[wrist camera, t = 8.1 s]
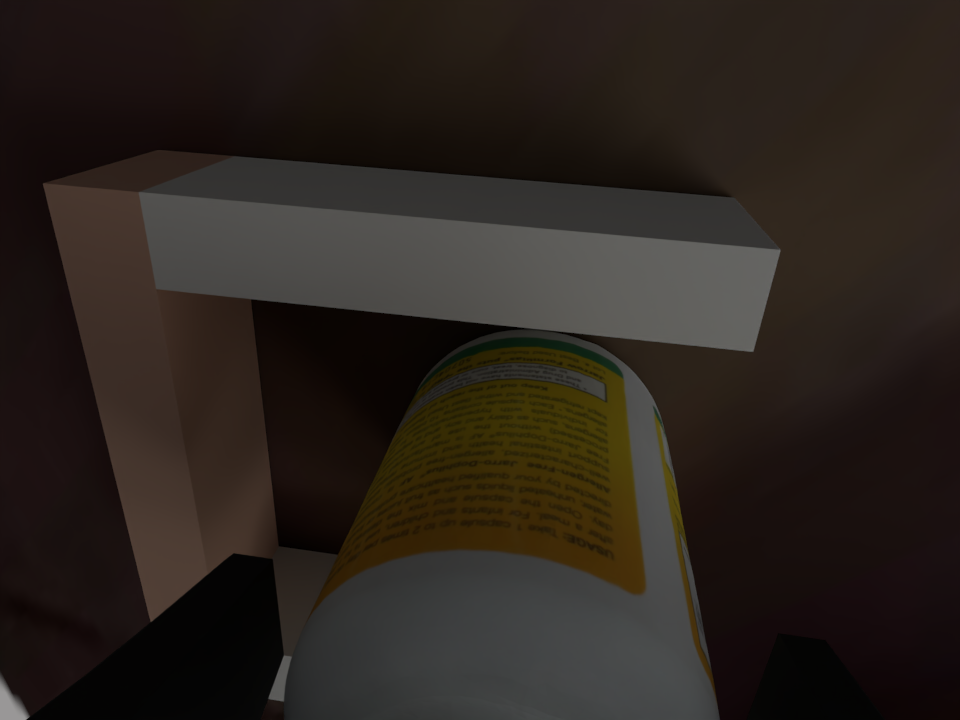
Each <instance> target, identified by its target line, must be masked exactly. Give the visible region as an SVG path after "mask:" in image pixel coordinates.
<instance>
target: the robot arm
mask: <svg viewBox="0 0 960 720" xmlns="http://www.w3.org/2000/svg"><path fill="white" fill-rule="evenodd" d="M283 657H284V650H283V641H282V633H281V624H280V616H279V608H278V599H277V591H276V582H275V574H274V565H273V559H270V558H263V557H256V556H250V555H243V554H236V553H233V554H232V555H231V556H229V557H228V558H227V559H225V560H224V561H223V562H222V563H221V564H219V565H218V566H217V567H216V568H214V569H213V570H212V571H211V572H210V573H208V574H207V575H206V576H205V577H204V578H203V579H201V580H200V581H199V582H198V583H197V584H196V585H194V586H193V587H192V588H191V589H190V590H188V591H187V592H186V593H185V594H184V595H183V596H181V597H180V598H179V599H178V600H177V601H175V602H174V603H173V604H172V605H171V606H170V607H168V608H167V609H166V610H165V611H164V612H162V613H161V614H160V615H159V616H158V617H156V618H155V619H154V620H153V621H152V622H150V623H149V624H148V625H147V626H146V627H144V628H143V629H142V630H141V631H139V632H138V633H137V634H136V635H135V636H133V637H132V638H131V639H130V640H128V641H127V642H126V643H125V644H123V645H122V646H121V647H120V648H118V649H117V650H116V651H115V652H114V653H112V654H111V655H110V656H109V657H107V658H106V659H105V660H104V661H102V662H101V663H100V664H99V665H97V666H96V667H95V668H94V669H92V670H91V671H90V672H89V673H87V674H86V675H85V676H84V677H82V678H81V679H80V680H78V681H77V682H76V683H74V684H73V685H72V686H70V687H69V688H68V689H66V690H65V691H64V692H62V693H61V694H60V695H58V696H57V697H56V698H54V699H53V700H52V701H50V702H49V703H48V704H46V705H45V706H44V707H42V708H41V709H40V710H38V711H37V712H36V713H35V714H33V715H32V716H31V717H29V718H28V719H27V720H260V719H261V716H262V714H263V711H264V708H265V706H266V703H267V701H268V698H269V695H270V693H271V690H272V687H273V684H274V682H275V679H276V676H277V673H278V670H279V668H280V665H281V662H282V659H283ZM747 720H885V719H884V718H883V716H882V715H881V714H880V712H879V711H878V710H877V708H876V707H875V706H874V704H873V703H872V702H871V700H870V699H869V698H868V696H867V695H866V694H865V692H864V691H863V690H862V688H861V687H860V686H859V684H858V683H857V682H856V680H855V679H854V678H853V676H852V675H851V674H850V672H849V671H848V670H847V668H846V667H845V666H844V664H843V663H842V662H841V660H840V659H839V658H838V656H837V655H836V654H835V652H834V651H833V650H832V649H831V647H830V646H829V645H828V643H827V642H826V641H825V640H819V639H813V638H806V637H799V636H792V635H785V634H779V633H778V636H777V639H776V642H775V644H774V647H773V650H772V652H771V655H770V658H769V661H768V663H767V666H766V669H765V671H764V674H763V677H762V680H761V682H760V685H759V688H758V690H757V693H756V696H755V699H754V701H753V704H752V707H751V709H750V712H749V715H748V718H747Z"/></svg>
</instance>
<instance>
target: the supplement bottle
mask: <svg viewBox="0 0 960 720" xmlns="http://www.w3.org/2000/svg"><path fill="white" fill-rule="evenodd" d="M284 719H285V720H720V718H719V712H718V705H717V699H716V693H715V686H714V680H713V675H712V670H711V665H710V660H709V655H708V650H707V645H706V641H705V635H704V630H703V624H702V619H701V613H700V608H699V602H698V598H697V593H696V588H695V582H694V576H693V572H692V568H691V563H690V558H689V553H688V548H687V543H686V538H685V532H684V527H683V522H682V516H681V511H680V506H679V500H678V494H677V488H676V482H675V476H674V471H673V467H672V463H671V457H670V453H669V448H668V443H667V438H666V435H665V431H664V426H663V423H662V420H661V416H660V413H659V411H658V408H657V406H656V404H655V402H654V399H653V398H652V396H651V394H650V393H649V391H648V390H647V388H646V387H645V385H644V384H643V383H642V381H641V380H640V379H639V378H638V376H637V375H636V374H635V373H634V372H633V371H632V370H631V369H630V368H629V367H628V366H627V365H626V364H624V363H623V362H622V361H620V360H619V359H618V358H617V357H615V356H614V355H612V354H611V353H610V352H608V351H607V350H605V349H604V348H602V347H600V346H598V345H596V344H594V343H591V342H588V341H584V340H581V339H579V338H575V337H572V336H569V335H566V334H559V333H555V332H549V331H540V330H508V331H502V332H497V333H493V334H489V335H486V336H482V337H479V338H477V339H475V340H473V341H470V342H468V343H466V344H464V345H462V346H460V347H458V348H457V349H455V350H454V351H452V352H451V353H449V354H448V355H447V356H445V357H444V358H443V359H442V360H441V361H439V362H438V363H437V364H436V365H435V366H434V367H433V368H432V369H431V370H430V372H429V373H428V374H427V375H426V377H425V378H424V379H423V381H422V382H421V384H420V386H419V387H418V389H417V391H416V393H415V395H414V397H413V399H412V401H411V402H410V404H409V407H408V409H407V411H406V413H405V415H404V417H403V419H402V421H401V423H400V425H399V427H398V429H397V431H396V433H395V435H394V437H393V439H392V441H391V443H390V446H389V448H388V450H387V453H386V455H385V457H384V459H383V461H382V463H381V465H380V467H379V469H378V471H377V474H376V476H375V478H374V480H373V482H372V484H371V486H370V488H369V490H368V492H367V495H366V497H365V499H364V501H363V503H362V505H361V507H360V510H359V512H358V514H357V516H356V518H355V521H354V523H353V525H352V527H351V529H350V531H349V533H348V535H347V537H346V539H345V541H344V543H343V545H342V548H341V550H340V552H339V554H338V556H337V558H336V560H335V562H334V565H333V567H332V569H331V571H330V573H329V575H328V577H327V580H326V582H325V584H324V586H323V588H322V590H321V592H320V594H319V596H318V598H317V600H316V603H315V605H314V607H313V609H312V611H311V613H310V615H309V617H308V619H307V621H306V623H305V625H304V627H303V630H302V632H301V634H300V637H299V639H298V642H297V644H296V647H295V650H294V652H293V655H292V658H291V661H290V665H289V669H288V674H287V678H286V684H285V694H284Z"/></svg>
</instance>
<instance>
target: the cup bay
mask: <svg viewBox="0 0 960 720" xmlns="http://www.w3.org/2000/svg"><path fill="white" fill-rule="evenodd" d="M43 186H44V190H45V194H46V198H47V202H48V207H49V211H50V215H51V219H52V223H53V227H54V231H55V235H56V239H57V243H58V247H59V251H60V255H61V259H62V263H63V267H64V272H65V276H66V280H67V284H68V288H69V292H70V296H71V300H72V304H73V308H74V312H75V316H76V320H77V324H78V328H79V333H80V337H81V341H82V345H83V349H84V353H85V357H86V361H87V365H88V369H89V373H90V377H91V381H92V385H93V389H94V394H95V398H96V402H97V406H98V410H99V414H100V418H101V422H102V426H103V430H104V434H105V438H106V442H107V446H108V450H109V454H110V459H111V463H112V467H113V471H114V475H115V479H116V483H117V487H118V491H119V495H120V499H121V503H122V507H123V511H124V515H125V520H126V524H127V528H128V532H129V536H130V540H131V544H132V548H133V552H134V556H135V560H136V564H137V568H138V572H139V576H140V580H141V585H142V589H143V593H144V597H145V601H146V605H147V609H148V613H149V617H150V621H151V622H152V621H153V620H154V619H155V618H156V617H158V616H159V615H160V614H161V613H162V612H164V611H165V610H166V609H167V608H168V607H170V606H171V605H172V604H173V603H174V602H175V601H177V600H178V599H179V598H180V597H181V596H183V595H184V594H185V593H186V592H187V591H188V590H190V589H191V588H192V587H193V586H194V585H196V584H197V583H198V582H199V581H200V580H201V579H203V578H204V577H205V576H206V575H207V574H208V573H210V572H211V571H212V570H213V569H214V568H216V567H217V566H218V565H219V564H221V563H222V562H223V561H224V560H225V559H227V558H228V557H229V556H231V555H232V554H233V553H236V554H243V555H250V556H256V557H263V558H270V559H273V565H274V574H275V582H276V591H277V599H278V608H279V616H280V624H281V633H282V641H283V650H284V657H283V659H282V662H281V665H280V668H279V670H278V673H277V676H276V679H275V682H274V684H273V687H272V690H271V693H270V695H269V698H268V699H272V700H278V701H284V694H285V684H286V678H287V674H288V669H289V665H290V661H291V658H292V655H293V652H294V650H295V647H296V644H297V642H298V639H299V637H300V634H301V632H302V630H303V627H304V625H305V623H306V621H307V619H308V617H309V615H310V613H311V611H312V609H313V607H314V605H315V603H316V600H317V598H318V596H319V594H320V592H321V590H322V588H323V586H324V584H325V582H326V580H327V577H328V575H329V573H330V571H331V569H332V567H333V565H334V562H335V560H336V558H337V556H338V555H336V554H329V553H322V552H315V551H308V550H301V549H294V548H287V547H280V546H279V544H278V535H277V526H276V517H275V508H274V499H273V491H272V482H271V473H270V464H269V455H268V446H267V437H266V429H265V420H264V411H263V402H262V393H261V384H260V375H259V367H258V358H257V349H256V340H255V331H254V322H253V313H252V304H251V299H255V300H264V301H274V302H283V303H293V304H302V305H312V306H321V307H331V308H340V309H350V310H360V311H369V312H379V313H388V314H398V315H407V316H417V317H426V318H436V319H445V320H455V321H464V322H474V323H483V324H493V325H502V326H512V327H521V328H531V329H540V330H550V331H559V332H569V333H578V334H588V335H598V336H607V337H617V338H626V339H636V340H645V341H655V342H664V343H674V344H683V345H693V346H702V347H712V348H721V349H731V350H740V351H750V352H753V350H754V347H755V343H756V339H757V336H758V332H759V328H760V325H761V321H762V317H763V313H764V310H765V306H766V302H767V299H768V295H769V291H770V288H771V284H772V280H773V276H774V273H775V269H776V265H777V262H778V258H779V254H780V249H779V248H778V246H777V245H776V244H775V243H774V242H773V241H772V240H771V239H770V237H769V236H768V235H767V234H766V233H765V232H764V231H763V230H762V228H761V227H760V226H759V225H758V224H757V223H756V222H755V220H754V219H753V218H752V217H751V216H750V215H749V214H748V213H747V211H746V210H745V209H744V208H743V207H742V206H741V205H740V204H739V202H738V201H737V200H736V199H735V198H732V197H720V196H708V195H696V194H684V193H672V192H659V191H647V190H635V189H623V188H611V187H599V186H587V185H575V184H563V183H551V182H539V181H527V180H515V179H503V178H491V177H479V176H467V175H455V174H443V173H431V172H419V171H407V170H395V169H383V168H371V167H359V166H347V165H335V164H323V163H311V162H299V161H287V160H275V159H263V158H251V157H239V156H227V155H215V154H203V153H190V152H178V151H166V150H156V151H153V152H149V153H146V154H142V155H139V156H136V157H132V158H129V159H125V160H122V161H118V162H115V163H111V164H108V165H105V166H101V167H98V168H94V169H91V170H87V171H84V172H81V173H77V174H74V175H70V176H67V177H63V178H60V179H57V180H53V181H50V182H46V183H43Z"/></svg>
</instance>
